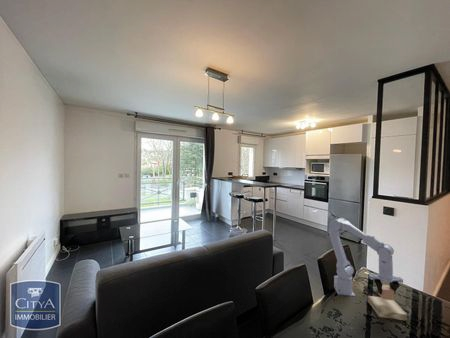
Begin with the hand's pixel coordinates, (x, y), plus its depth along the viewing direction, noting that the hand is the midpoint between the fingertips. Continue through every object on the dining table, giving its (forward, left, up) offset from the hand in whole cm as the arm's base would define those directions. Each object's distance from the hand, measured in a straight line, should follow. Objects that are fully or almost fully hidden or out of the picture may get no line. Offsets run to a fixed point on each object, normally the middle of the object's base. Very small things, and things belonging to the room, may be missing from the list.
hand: (385, 294), depth 103 cm
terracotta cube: (0, 0, -2) cm, 2 cm away
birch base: (0, 0, -8) cm, 8 cm away
